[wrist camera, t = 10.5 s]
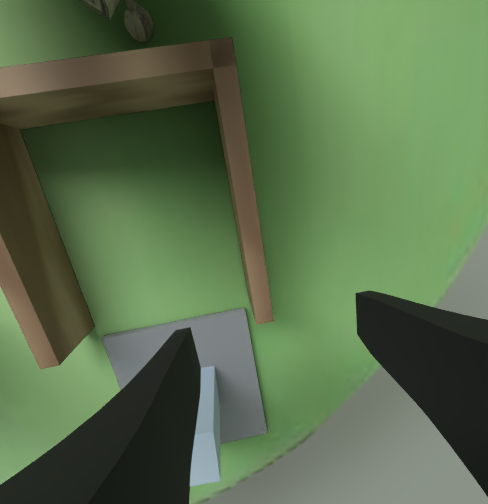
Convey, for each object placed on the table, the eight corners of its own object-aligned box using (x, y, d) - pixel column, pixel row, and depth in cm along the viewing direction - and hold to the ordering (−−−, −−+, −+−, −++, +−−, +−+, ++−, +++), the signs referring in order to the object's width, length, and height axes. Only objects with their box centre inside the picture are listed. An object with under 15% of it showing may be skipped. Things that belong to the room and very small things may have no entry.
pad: (149, 455, 24) (148, 460, 23) (104, 335, 20) (101, 339, 19) (266, 427, 24) (267, 432, 24) (244, 307, 21) (245, 310, 20)
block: (171, 413, 22) (154, 493, 16) (163, 373, 21) (142, 443, 15) (219, 405, 22) (220, 480, 17) (214, 365, 21) (213, 431, 15)
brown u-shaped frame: (79, 329, 19) (40, 369, 15) (-8, 111, 15) (-98, 80, 11) (262, 293, 20) (273, 320, 16) (228, 78, 16) (232, 37, 12)
